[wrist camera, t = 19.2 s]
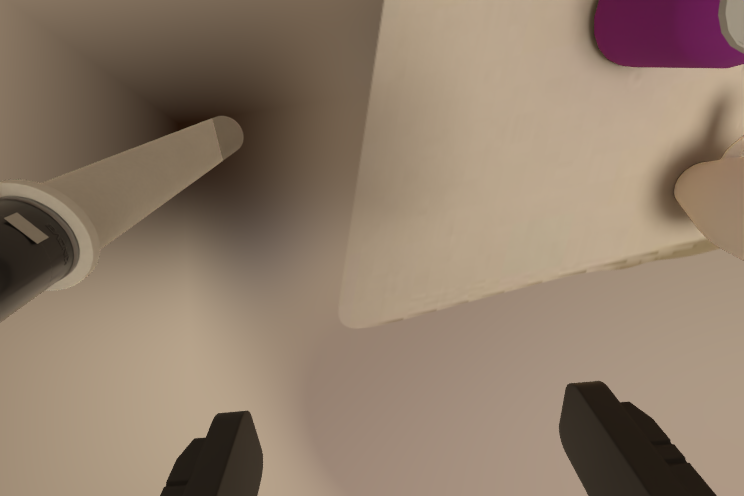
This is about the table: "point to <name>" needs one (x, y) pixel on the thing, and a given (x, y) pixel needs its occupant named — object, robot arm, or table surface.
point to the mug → (716, 199)
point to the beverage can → (671, 32)
